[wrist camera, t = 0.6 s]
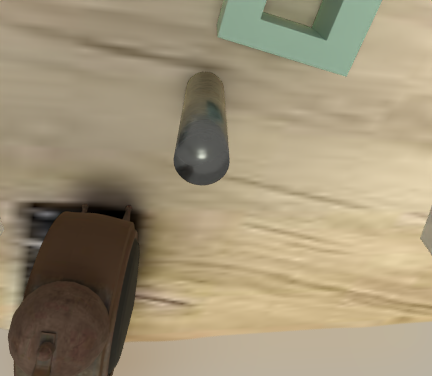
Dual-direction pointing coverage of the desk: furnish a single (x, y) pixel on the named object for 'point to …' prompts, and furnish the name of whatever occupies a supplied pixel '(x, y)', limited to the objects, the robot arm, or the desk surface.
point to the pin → (203, 132)
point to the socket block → (301, 31)
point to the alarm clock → (77, 298)
